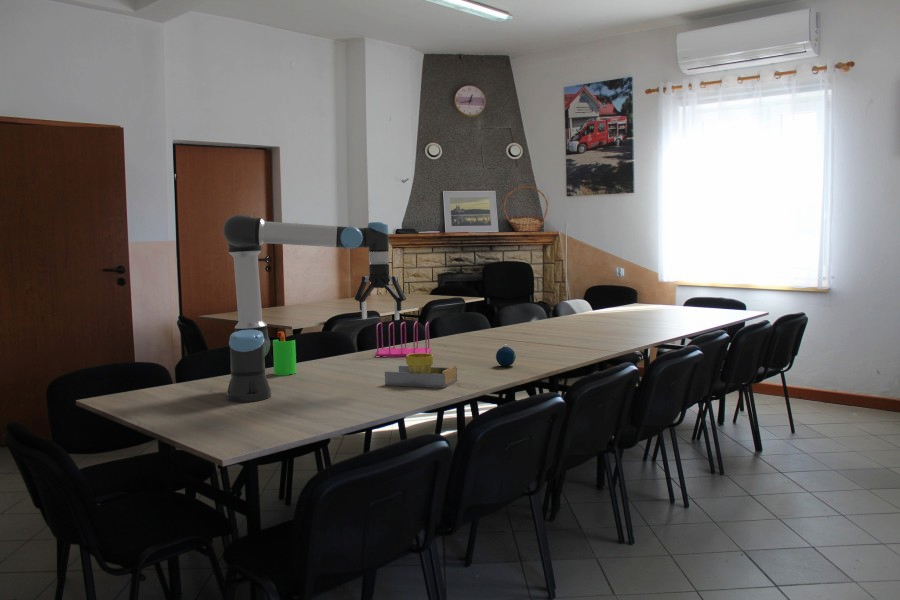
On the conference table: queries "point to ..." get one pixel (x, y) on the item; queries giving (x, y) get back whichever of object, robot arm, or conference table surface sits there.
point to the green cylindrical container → (284, 356)
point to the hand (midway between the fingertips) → (380, 319)
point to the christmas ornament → (505, 356)
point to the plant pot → (419, 362)
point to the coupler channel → (422, 377)
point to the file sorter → (401, 351)
